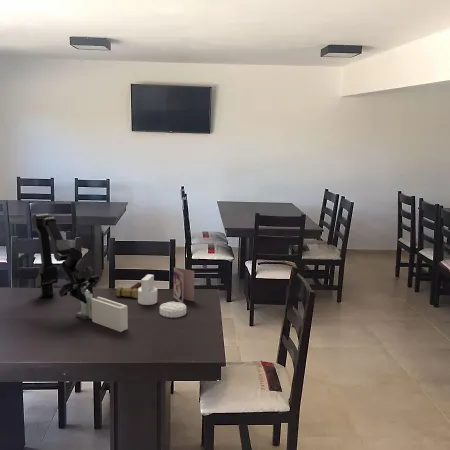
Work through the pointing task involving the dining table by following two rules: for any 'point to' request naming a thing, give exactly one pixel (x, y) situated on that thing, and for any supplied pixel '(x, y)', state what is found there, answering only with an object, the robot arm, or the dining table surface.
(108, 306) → the white slotted block
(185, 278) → the greeting card
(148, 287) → the base with upright slab
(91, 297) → the door panel
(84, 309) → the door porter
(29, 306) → the dining table surface
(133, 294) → the gavel
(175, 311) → the mooncake
